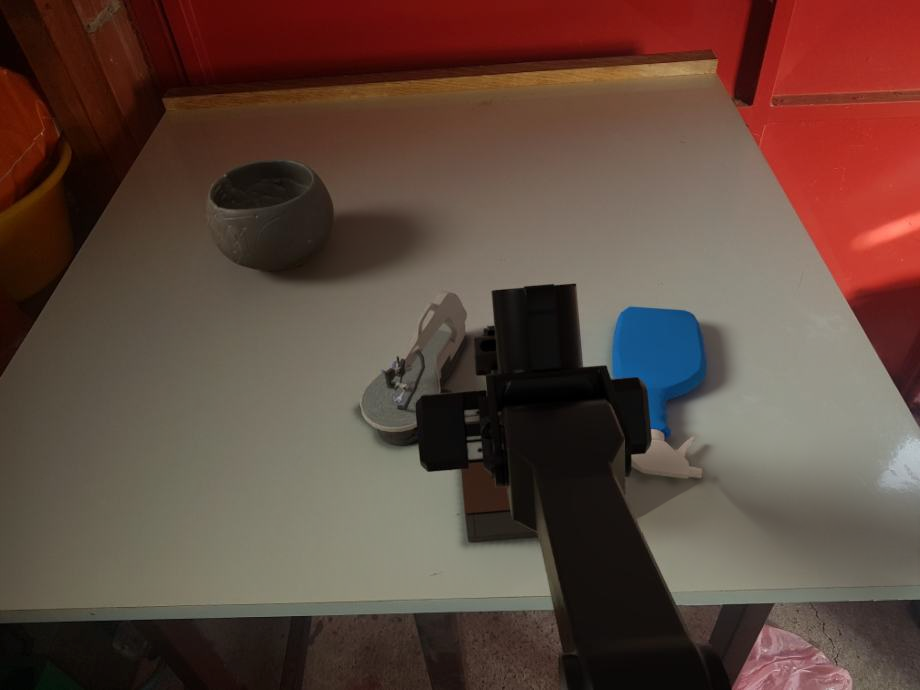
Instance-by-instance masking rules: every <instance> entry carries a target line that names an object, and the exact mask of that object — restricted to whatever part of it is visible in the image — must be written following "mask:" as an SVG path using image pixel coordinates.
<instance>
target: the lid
mask: <svg viewBox="0 0 920 690" xmlns="http://www.w3.org/2000/svg"><path fill="white" fill-rule="evenodd" d="M460 473H461V484H462V485H461V486H462V498H463V509H464V511H463V512H464V514H465V513H477V512H489V511H501V510H510V505H509V499H508V492H507V487H495V478H491V474H490V473H489V472H488V471H487V470H485V469H484V467H483V462H479V463H469V469H460Z"/></svg>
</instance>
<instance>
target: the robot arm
mask: <svg viewBox="0 0 920 690" xmlns="http://www.w3.org/2000/svg"><path fill="white" fill-rule="evenodd" d="M577 289H578V288H577V283H565V284H564V283H563V284H554V283H549V284H538V285H524V286H523V287H516V288H503V289H493V290H491V303H492V314H493V316H492V317H493V325H487V326H486V327H485V328H484V327H483V328H482V330H483V331H482V333H483V334H482V335H476V336H473V337H472V345H473V357H474V369H475V370H474V371H475V376H477V377H481V376H485V386H486V387H485V389H484V390H483V389H482V390H469V391H452V392H449V393H437V394H426V395H422V396H421V397H420V398H419V400H418V401H417V402H416V422H417V434H418V440H417V443H418V455H419V456H418V457H419V464H420V466H421V467H422V468H423V469H425V471H426V472H428V473H431V472H432V473H433V472H434V473H435V472H444V471H456V470H461V469H469V463H479V462H483V467H484V469H485V470H487V471H488V472H489V473H490V474H491V478H495V487H507V492H508V499H509V505H510V510H511V516H512V519H513V520H515V521H516V522H518V523H520V524H522V525H523V526H525V527H527V528H529V529H531V530H533V531H535V532H537V533H538V536H537V537H538V540H539V541H538V542H539V546H540V551H541V556H542V559H543V560H542V561H543V564H544V569H545V575H546V579H547V583H548V588H549V592H550V597H551V602H552V607H553V608H552V609H553V612H554V616H555V617H554V618H555V622H556V626H557V631H558V635H559V640H560V646H561V651H562V652H558V656H557V669H558V670H557V672H558V673H557V674H558V686H559V690H733V688H732V686H731V685H732V684H731V682H730V679H729V675H728V673H727V670H726V667H725V665H724V662H723V661H722V658H721V656H720V655H719V653H718V652H717V650H716V649H715V647H714V645H712V644H710V643H709V642H706V641H705V642H695V640H694V639H693V637H692V634H691V632H690V631H689V629H688V626H687V625H686V622H685V619H684V617H683V616H682V614H681V612H680V609H679V607H678V605H677V603H676V601H675V598H674V597H673V595H672V592H671V590H670V589H669V585H668V584H667V582H666V579H665V577H664V576H663V575H664V574H663V573H662V572H661V569H660V567H659V565H658V562H657V561H656V559H655V556H654V554H653V552H652V550H651V548H650V546H649V543H648V541H647V539H646V537H645V535H644V533H643V531H642V529H641V526H640V524H639V522H638V520H637V518H636V516H635V514H634V512H633V509H632V507H631V506H630V505H631V504H630V503H629V500H628V499H627V497H626V478H630V476H631V473H632V466H631V464H632V458H631V455H635V454H645V453H646V452H647V450H648V449H649V447H650V446H651V441H652V435H651V424H650V413H649V402H648V391H647V388H646V385H645V383H644V382H643V381H642V380H641V379H639V378H638V377H624V378H613V377H612V378H611V375H610V372H609V369H608V366H607V365H606V364H604V365H591V366H590V365H589V366H584V360H583V350H582V348H583V347H582V338H581V337H582V336H581V325H580V313H579V302H578V301H579V300H578V299H579V298H578V290H577Z"/></svg>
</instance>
